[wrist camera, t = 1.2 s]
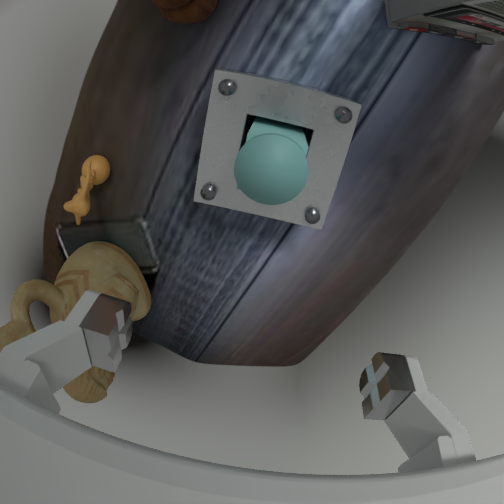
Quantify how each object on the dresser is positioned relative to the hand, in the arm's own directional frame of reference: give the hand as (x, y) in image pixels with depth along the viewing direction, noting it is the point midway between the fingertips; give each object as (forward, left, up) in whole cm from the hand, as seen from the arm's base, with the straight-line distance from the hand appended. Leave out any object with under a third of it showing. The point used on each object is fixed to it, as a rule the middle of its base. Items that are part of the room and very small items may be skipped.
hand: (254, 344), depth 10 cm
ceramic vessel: (+27, -21, -31) cm, 46 cm away
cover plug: (+1, 0, -31) cm, 31 cm away
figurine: (+9, -21, -31) cm, 38 cm away
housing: (+1, 0, -31) cm, 31 cm away
